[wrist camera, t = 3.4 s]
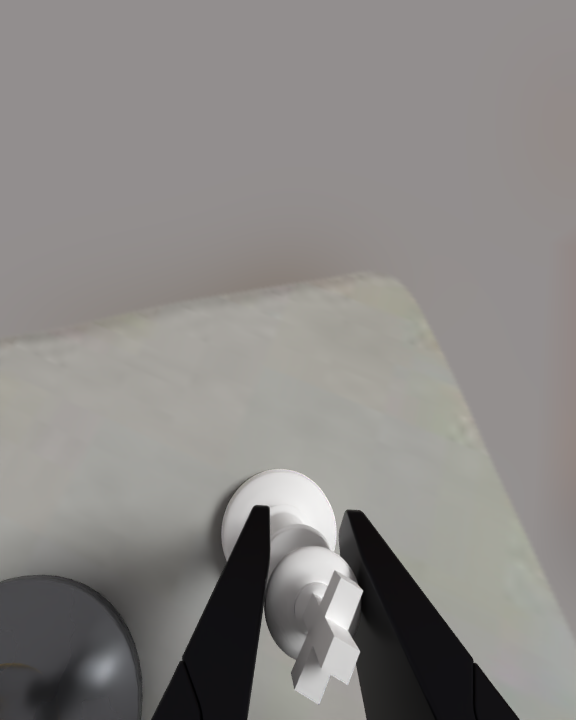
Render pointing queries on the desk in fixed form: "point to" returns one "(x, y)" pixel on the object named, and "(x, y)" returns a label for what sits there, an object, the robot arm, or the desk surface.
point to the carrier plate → (64, 653)
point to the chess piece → (302, 577)
